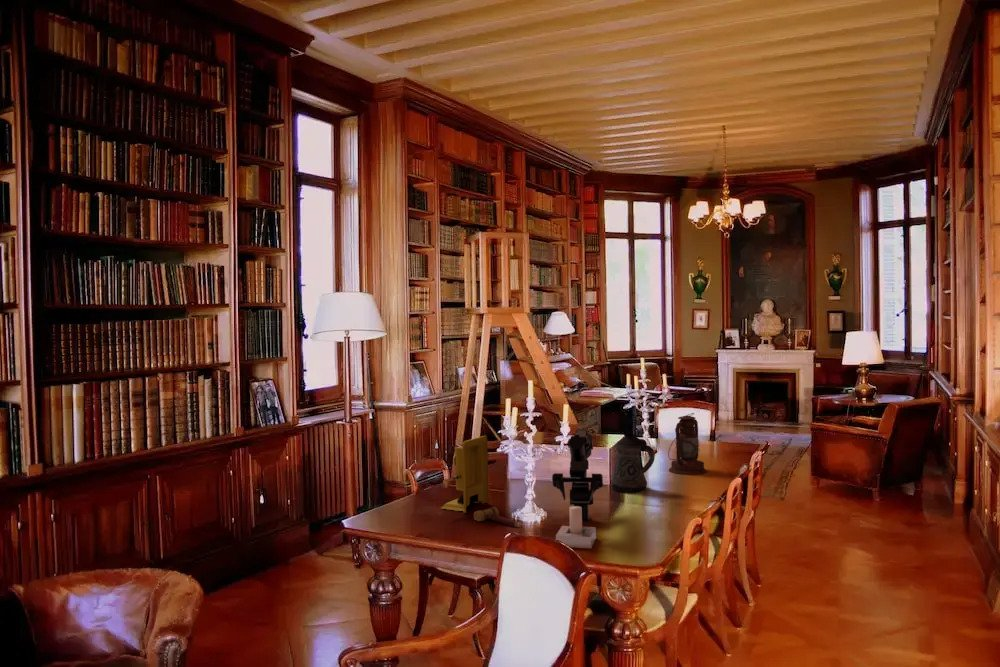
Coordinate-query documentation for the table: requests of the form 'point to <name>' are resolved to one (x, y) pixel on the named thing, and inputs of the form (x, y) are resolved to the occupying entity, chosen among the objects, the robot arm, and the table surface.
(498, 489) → the table surface
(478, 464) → the olive upright panel stand
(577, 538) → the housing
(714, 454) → the table surface
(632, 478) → the beer stein
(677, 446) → the lantern
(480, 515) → the gavel
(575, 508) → the white tall rounded piece
